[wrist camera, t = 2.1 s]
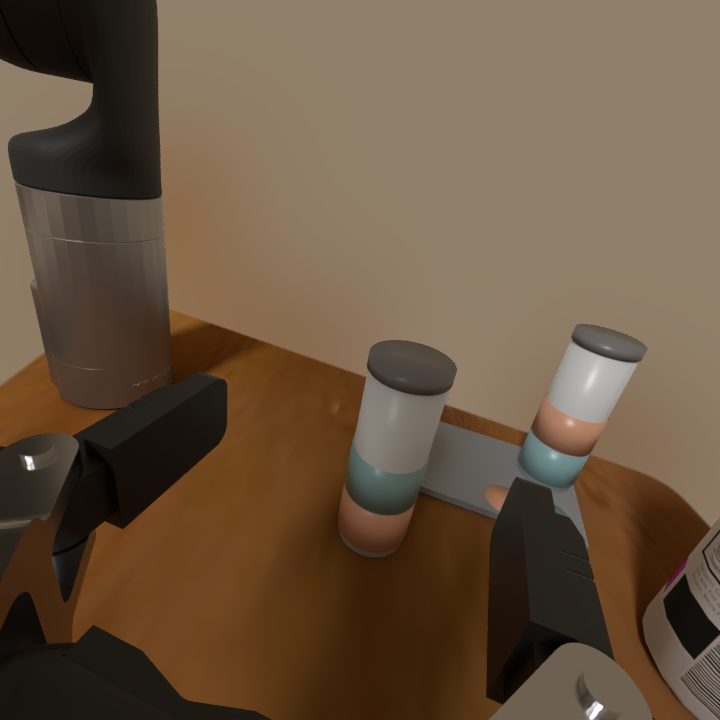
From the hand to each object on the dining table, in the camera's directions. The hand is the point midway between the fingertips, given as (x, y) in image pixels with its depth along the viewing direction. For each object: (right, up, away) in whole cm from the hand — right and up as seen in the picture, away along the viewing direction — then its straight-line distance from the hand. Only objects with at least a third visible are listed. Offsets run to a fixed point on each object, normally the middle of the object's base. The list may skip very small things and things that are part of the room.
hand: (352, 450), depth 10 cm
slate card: (+12, -8, +24) cm, 27 cm away
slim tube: (+1, -9, +17) cm, 19 cm away
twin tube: (+17, -8, +24) cm, 30 cm away
